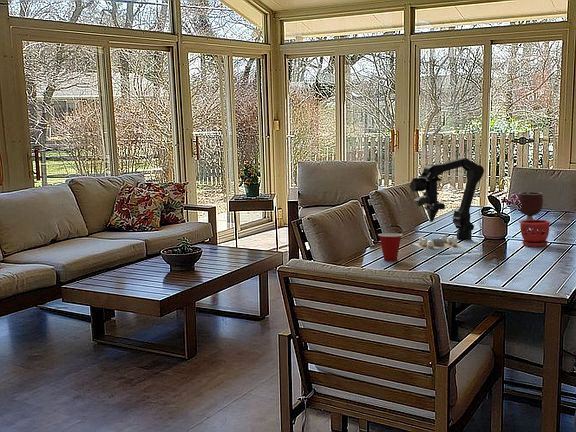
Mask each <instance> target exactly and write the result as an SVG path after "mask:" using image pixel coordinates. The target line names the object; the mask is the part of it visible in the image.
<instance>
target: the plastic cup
mask: <svg viewBox="0 0 576 432" xmlns="http://www.w3.org/2000/svg"><path fill="white" fill-rule="evenodd" d="M377 235H378V237H379V240H380V245H381V250H382V255H383V256H382V257H383V259H384V261H387V262H394V261H396V262H397V260H398V255H399V251H400V244H401V239H402V237H403V234H402V233H396V232H395V233H393V232H392V233H388V232H387V233H386V232H385V233H378V234H377Z"/></svg>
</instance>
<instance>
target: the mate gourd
mask: <svg viewBox="0 0 576 432" xmlns="http://www.w3.org/2000/svg"><path fill="white" fill-rule="evenodd" d="M518 198H519V200H520V202H521V204H522V209H518V211H519V212H520V213H521V214H522V215H525V216H526V219H519V220H518V223H520V222H521V221H524V220H535V219H534V217H533V216H535V215H538V214H539V213H540V212H541V211H542V210H543V206H544V205H543V204H544V199H543V192H538V191H529V190H528V189H525V191H521V192H518V195H517V199H518Z"/></svg>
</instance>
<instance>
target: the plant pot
mask: <svg viewBox="0 0 576 432" xmlns="http://www.w3.org/2000/svg"><path fill="white" fill-rule="evenodd" d="M519 224H520V233H521V237H522V244H523V245H524V246H527V247H534V248H536V247H537V248H541V247H545V246H547V245H548V244H549V240H547V239H548V237H549V234H550V221H549V220H546V219H534V220H524V221H521V222H519Z"/></svg>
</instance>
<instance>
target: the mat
mask: <svg viewBox="0 0 576 432" xmlns="http://www.w3.org/2000/svg"><path fill="white" fill-rule="evenodd" d="M462 254H472V251H467V252H466V251H465V252H454V253H441V254H440V253H439V254H434V256H436V257H437V256H449V255H462Z"/></svg>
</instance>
